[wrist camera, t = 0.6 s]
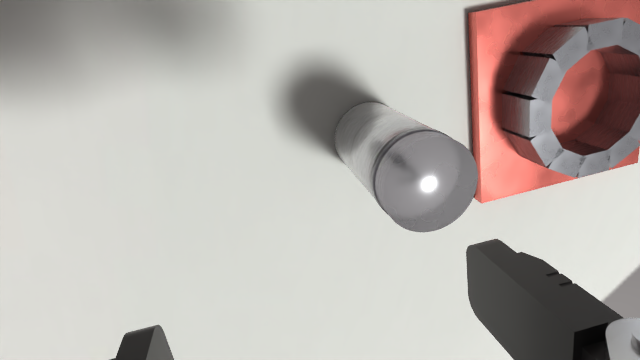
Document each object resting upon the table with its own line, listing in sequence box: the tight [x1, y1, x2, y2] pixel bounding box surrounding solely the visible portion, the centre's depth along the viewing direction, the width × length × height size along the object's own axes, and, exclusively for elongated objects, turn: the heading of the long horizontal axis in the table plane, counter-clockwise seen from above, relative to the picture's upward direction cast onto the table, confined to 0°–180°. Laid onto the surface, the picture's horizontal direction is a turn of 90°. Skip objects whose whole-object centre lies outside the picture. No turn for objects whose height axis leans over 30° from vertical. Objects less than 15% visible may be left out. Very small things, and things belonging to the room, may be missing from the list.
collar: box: [468, 0, 640, 203], centre depth 30 cm, size 14×14×4 cm
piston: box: [335, 102, 478, 232], centre depth 25 cm, size 5×5×10 cm
